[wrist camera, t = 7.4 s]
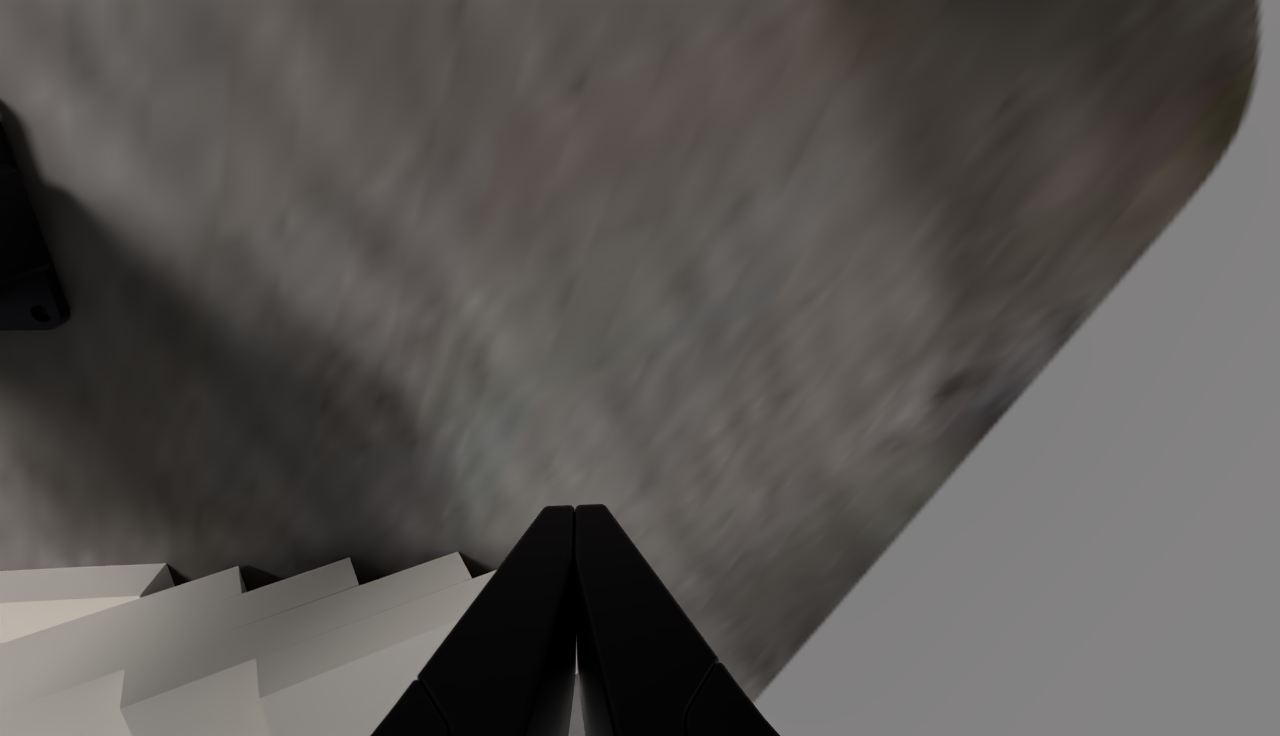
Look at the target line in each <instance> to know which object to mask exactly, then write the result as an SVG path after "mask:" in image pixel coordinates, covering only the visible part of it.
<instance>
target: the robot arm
mask: <svg viewBox="0 0 1280 736" xmlns="http://www.w3.org/2000/svg"><path fill="white" fill-rule="evenodd" d="M41 306H43V307H45V308H46V309H48V311H49V312H50V314H51V317H50V316H48V315H46V314H45V313H44V312H43V311H42V309H41ZM69 317H70V309H69V306H68V303H67V301H66V298H65V295H64V293H63V290H62V287H61V284H60V282H59V279H58V276H57V274H56V271H55V268H54V266H53V263H52V260H51V257H50V254H49V252H48V249H47V246H46V244H45V241H44V238H43V235H42V233H41V230H40V227H39V225H38V222H37V219H36V217H35V214H34V211H33V208H32V206H31V203H30V200H29V198H28V195H27V192H26V189H25V187H24V184H23V181H22V179H21V176H20V174H19V171H18V168H17V165H16V163H15V160H14V157H13V155H12V152H11V149H10V147H9V144H8V141H7V138H6V136H5V133H4V130H3V128H2V125H1V122H0V330H49V329H54V328H56V327H58V326H60V325H62V324H64V323H65V322H67V321H68V320H69ZM576 642H577V670H578V681H579V690H580V698H581V705H582V713H583V721H584V729H585V736H780V735H779V734H778V733H777V732H776V731H775V730H774V729H773V727H772V726H771V725H770V724H769V723H768V722H767V721H766V720H765V718H764V717H763V716H762V715H761V713H760V712H759V711H758V709H757V708H756V707H755V706H754V704H753V703H752V702H751V701H750V699H749V698H748V697H747V696H746V694H745V693H744V692H743V690H742V689H741V688H740V687H739V685H738V684H737V683H736V681H735V680H734V679H733V677H732V676H731V674H730V673H729V672H728V670H727V669H726V668H725V666H724V665H723V664H722V663H720V662H719V659H718V657H717V656H716V655H715V653H714V652H713V651H712V649H711V648H710V646H709V645H708V644H707V642H706V641H705V640H704V638H703V637H702V636H701V634H700V633H699V632H698V630H697V629H696V628H695V626H694V625H693V623H692V622H691V621H690V619H689V618H688V617H687V615H686V614H685V613H684V611H683V610H682V609H681V607H680V606H679V605H678V603H677V602H676V600H675V599H674V598H673V596H672V595H671V594H670V592H669V591H668V590H667V588H666V587H665V586H664V584H663V583H662V582H661V580H660V579H659V577H658V576H657V575H656V573H655V572H654V571H653V569H652V568H651V567H650V565H649V564H648V563H647V561H646V560H645V559H644V557H643V556H642V554H641V553H640V552H639V550H638V549H637V548H636V546H635V545H634V544H633V542H632V541H631V540H630V538H629V537H628V536H627V534H626V533H625V531H624V530H623V529H622V527H621V526H620V525H619V523H618V522H617V521H616V519H615V518H614V517H613V515H612V514H611V513H610V511H609V510H608V509H607V507H606V506H605V505H603V504H592V505H578V506H577V507H576V509H575V510H574V508H573V507H572V506H570V505H564V506H546V507H545V508H543V510H542V511H541V512H540V514H539V515H538V516H537V518H536V519H535V520H534V522H533V523H532V524H531V526H530V527H529V528H528V529H527V531H526V532H525V533H524V535H523V536H522V537H521V539H520V540H519V541H518V543H517V544H516V545H515V547H514V548H513V549H512V551H511V552H510V553H509V555H508V556H507V557H506V559H505V560H504V561H503V563H502V564H501V565H500V567H499V568H498V569H497V571H496V572H495V573H494V575H493V576H492V577H491V579H490V580H489V581H488V583H487V584H486V585H485V587H484V588H483V589H482V590H481V592H480V593H479V594H478V596H477V597H476V598H475V600H474V601H473V602H472V604H471V605H470V606H469V608H468V609H467V610H466V612H465V613H464V614H463V616H462V617H461V618H460V620H459V621H458V622H457V624H456V625H455V626H454V628H453V629H452V630H451V632H450V633H449V634H448V636H447V637H446V638H445V640H444V641H443V642H442V643H441V645H440V646H439V647H438V649H437V650H436V651H435V653H434V654H433V655H432V657H431V658H430V659H429V661H428V662H427V663H426V665H425V666H424V667H423V669H422V670H421V671H420V673H419V674H418V676H417V680H414V681H412V683H411V684H410V685H409V687H408V688H407V689H406V691H405V692H404V693H403V695H402V696H401V697H400V699H399V700H398V701H397V703H396V704H395V705H394V707H393V708H392V709H391V710H390V712H389V713H388V714H387V715H386V717H385V718H384V719H383V720H382V722H381V723H380V724H379V725H378V727H377V728H376V729H375V730H374V732H373V733H372V734H371V735H370V736H568V734H569V726H570V718H571V710H572V701H573V693H574V684H575V673H576Z"/></svg>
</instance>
